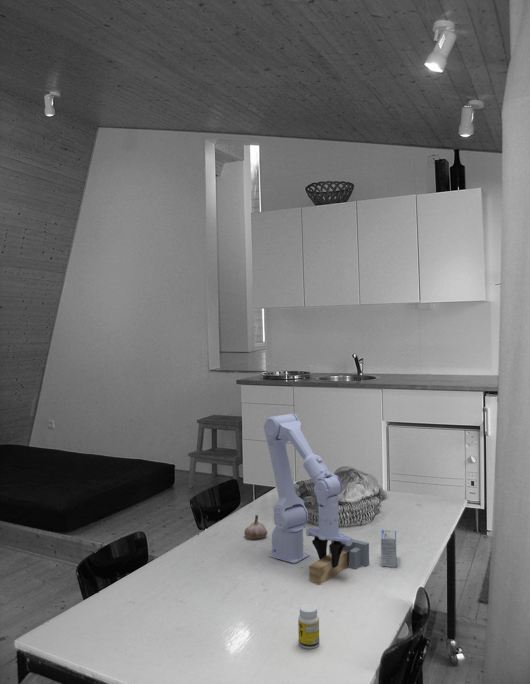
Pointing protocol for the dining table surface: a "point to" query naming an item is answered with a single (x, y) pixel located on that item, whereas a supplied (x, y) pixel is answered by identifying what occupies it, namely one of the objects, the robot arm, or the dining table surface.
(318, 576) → the rail
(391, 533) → the medicine box
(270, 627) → the dining table surface
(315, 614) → the supplement bottle
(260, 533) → the garlic bulb
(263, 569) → the dining table surface
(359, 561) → the grey stepped block
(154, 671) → the dining table surface
